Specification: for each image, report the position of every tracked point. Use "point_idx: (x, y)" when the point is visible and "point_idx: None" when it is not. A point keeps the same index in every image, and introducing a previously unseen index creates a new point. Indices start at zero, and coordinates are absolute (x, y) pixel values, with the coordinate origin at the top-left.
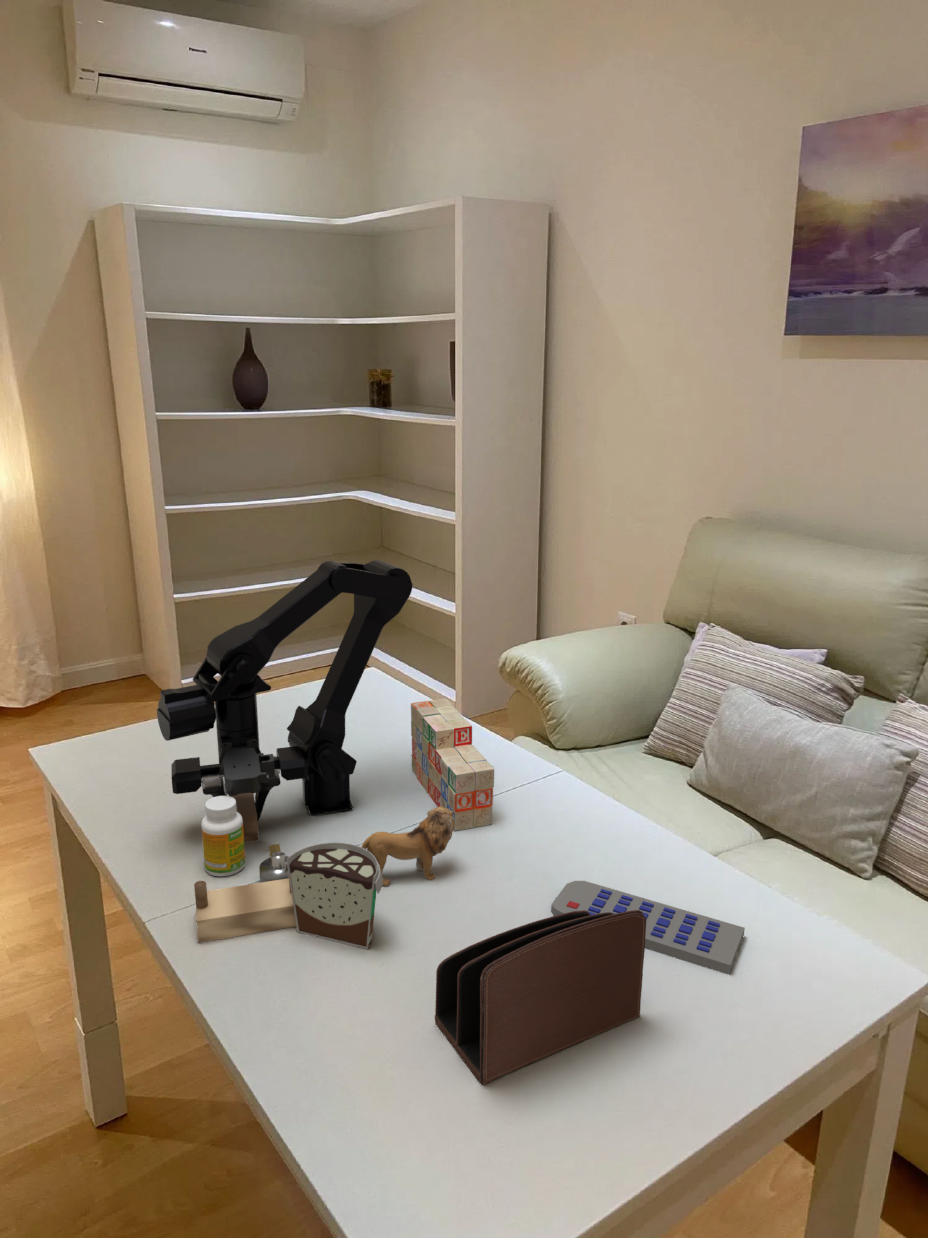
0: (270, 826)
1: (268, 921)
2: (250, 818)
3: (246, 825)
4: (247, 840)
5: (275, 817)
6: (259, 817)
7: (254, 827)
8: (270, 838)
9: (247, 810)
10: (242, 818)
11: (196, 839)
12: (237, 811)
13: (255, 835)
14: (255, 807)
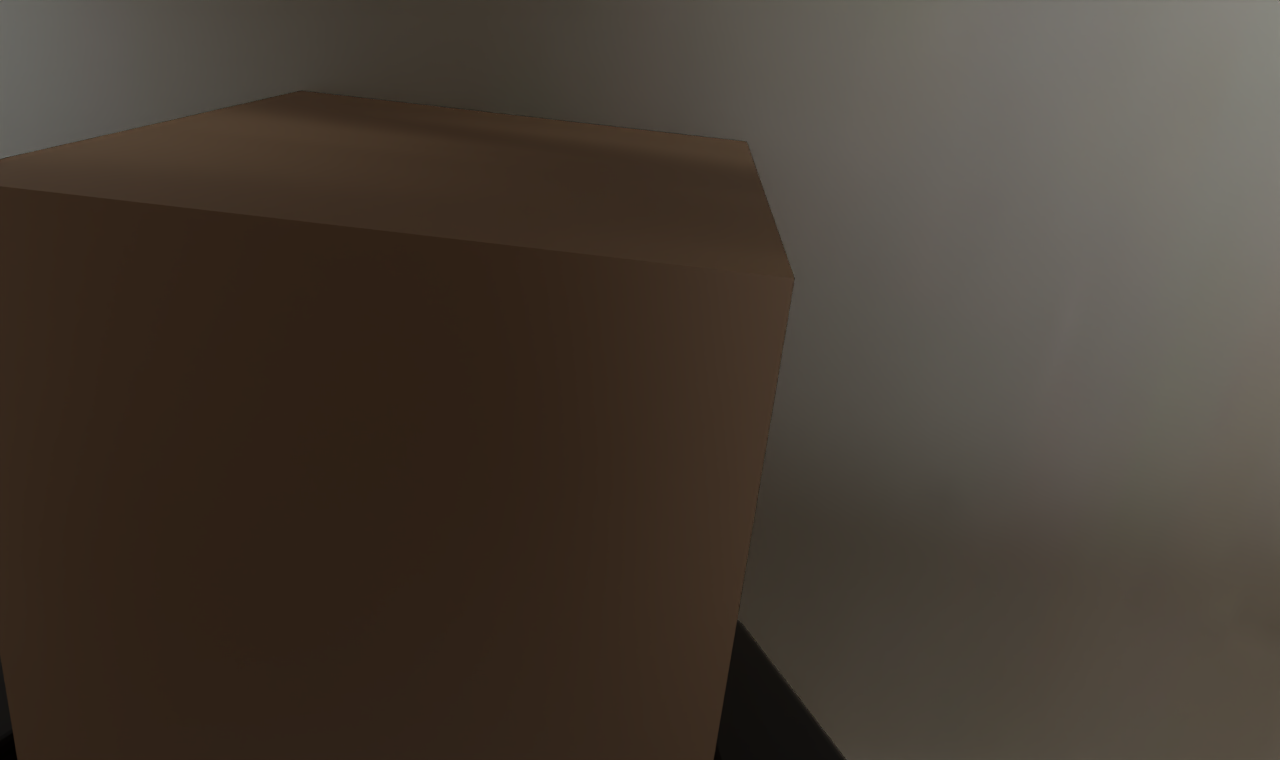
0: None
1: None
2: (186, 195)
3: (396, 167)
4: (487, 114)
5: None
6: None
7: (234, 139)
8: (91, 95)
9: (240, 618)
10: (431, 224)
11: (1268, 526)
12: (532, 660)
13: (306, 113)
14: (8, 683)
